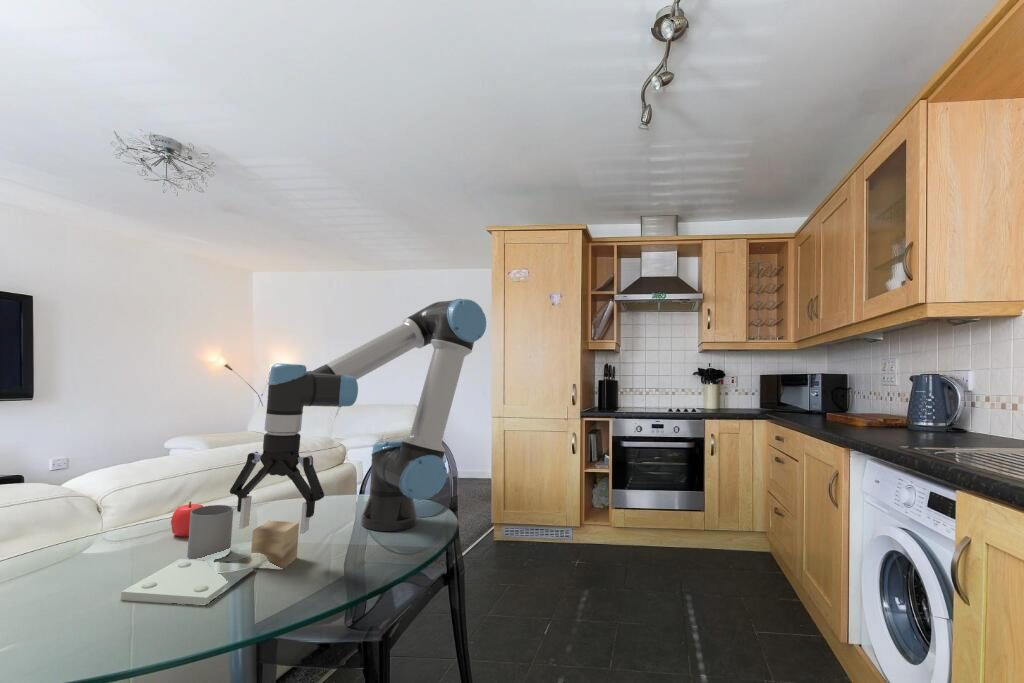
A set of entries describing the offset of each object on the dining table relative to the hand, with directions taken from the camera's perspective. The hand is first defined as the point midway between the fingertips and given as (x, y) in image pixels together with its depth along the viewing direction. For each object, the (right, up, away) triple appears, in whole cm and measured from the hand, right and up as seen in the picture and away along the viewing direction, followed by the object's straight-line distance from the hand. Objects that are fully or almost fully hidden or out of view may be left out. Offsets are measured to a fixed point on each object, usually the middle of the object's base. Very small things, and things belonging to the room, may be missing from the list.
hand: (274, 529), depth 115 cm
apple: (-28, -7, +15) cm, 33 cm away
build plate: (-10, -6, -13) cm, 18 cm away
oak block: (0, -7, 0) cm, 7 cm away
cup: (-16, -7, +3) cm, 18 cm away
